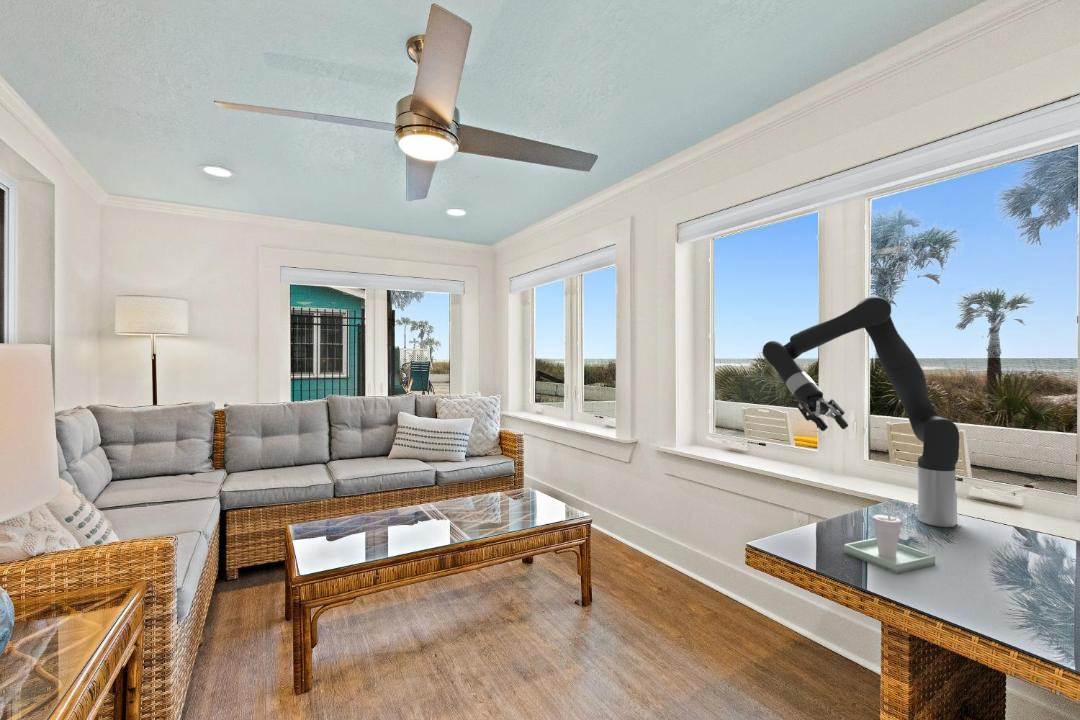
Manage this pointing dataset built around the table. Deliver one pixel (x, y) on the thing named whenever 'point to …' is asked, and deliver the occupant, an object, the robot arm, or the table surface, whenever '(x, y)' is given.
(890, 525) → the smoothie
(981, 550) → the table surface
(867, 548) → the tray
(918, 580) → the table surface
